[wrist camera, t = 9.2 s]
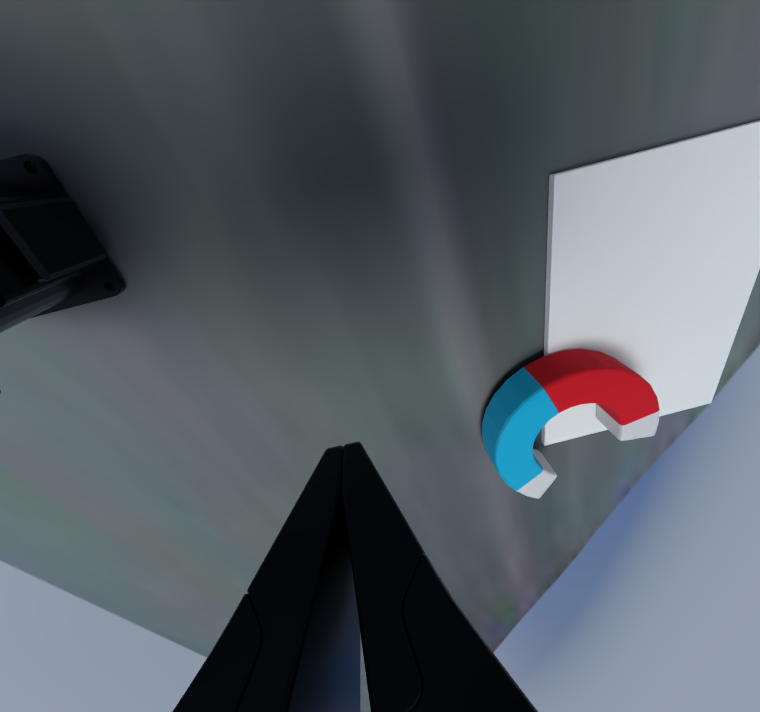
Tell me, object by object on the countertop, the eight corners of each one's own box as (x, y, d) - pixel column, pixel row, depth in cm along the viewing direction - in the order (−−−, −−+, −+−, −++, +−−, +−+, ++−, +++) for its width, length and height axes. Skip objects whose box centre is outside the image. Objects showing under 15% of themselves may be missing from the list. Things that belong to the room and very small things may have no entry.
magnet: (451, 411, 24) (510, 478, 29) (464, 438, 22) (526, 506, 27) (601, 314, 22) (640, 404, 26) (633, 332, 19) (670, 427, 24)
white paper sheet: (541, 441, 28) (544, 445, 27) (549, 175, 18) (554, 175, 17) (705, 399, 28) (711, 403, 27) (806, 107, 18) (818, 106, 17)
